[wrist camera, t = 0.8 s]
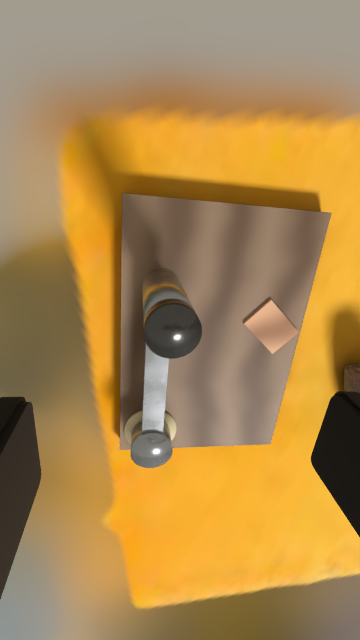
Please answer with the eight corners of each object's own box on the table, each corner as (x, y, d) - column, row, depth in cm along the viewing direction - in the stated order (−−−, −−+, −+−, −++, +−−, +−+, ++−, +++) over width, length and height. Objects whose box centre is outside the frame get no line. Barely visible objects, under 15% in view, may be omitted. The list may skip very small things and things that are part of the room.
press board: (321, 212, 28) (333, 212, 26) (265, 434, 38) (271, 445, 37) (123, 193, 25) (121, 192, 23) (120, 439, 36) (119, 451, 34)
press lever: (185, 264, 26) (216, 307, 15) (168, 447, 34) (181, 556, 24) (136, 261, 25) (133, 304, 15) (130, 448, 33) (126, 562, 23)
